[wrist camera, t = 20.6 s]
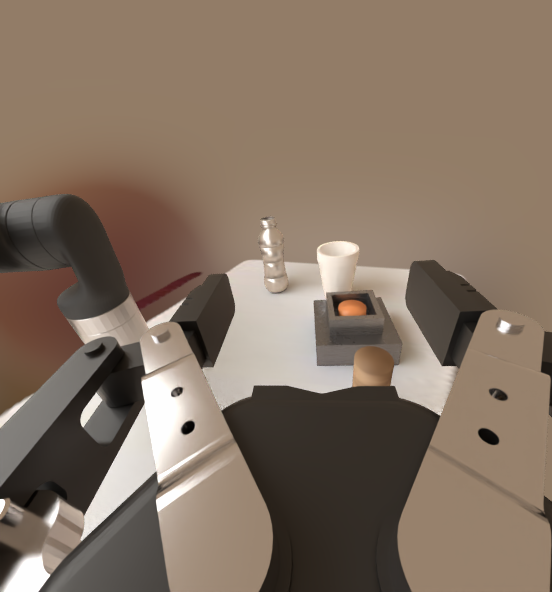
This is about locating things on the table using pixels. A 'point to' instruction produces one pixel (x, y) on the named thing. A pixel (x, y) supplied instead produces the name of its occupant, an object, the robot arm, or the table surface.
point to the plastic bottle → (272, 255)
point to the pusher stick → (372, 367)
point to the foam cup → (337, 265)
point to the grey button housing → (352, 329)
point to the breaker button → (351, 308)
